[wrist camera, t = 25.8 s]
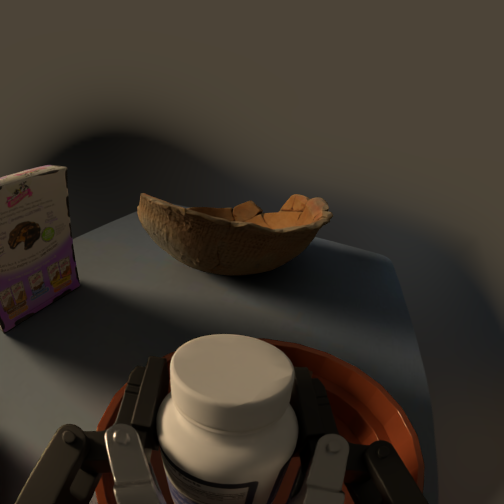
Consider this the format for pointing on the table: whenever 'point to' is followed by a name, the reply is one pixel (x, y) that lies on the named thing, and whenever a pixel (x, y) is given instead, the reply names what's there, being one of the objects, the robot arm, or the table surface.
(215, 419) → the pill bottle
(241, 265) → the ceramic bowl
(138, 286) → the table surface
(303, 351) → the bowl
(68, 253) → the candy box
